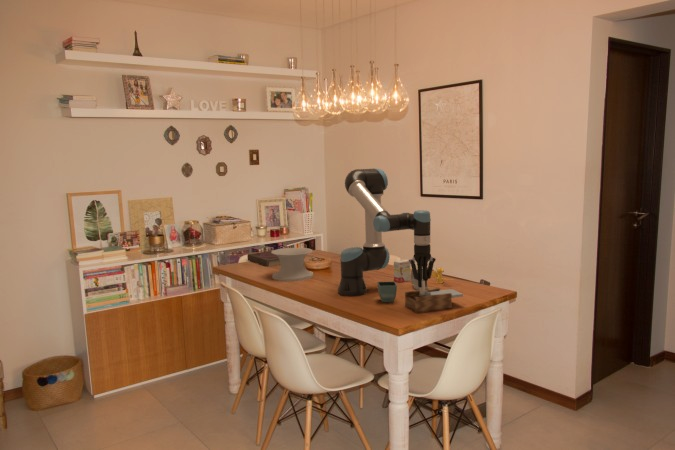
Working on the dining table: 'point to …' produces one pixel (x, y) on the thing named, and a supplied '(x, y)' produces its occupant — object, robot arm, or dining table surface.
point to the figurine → (439, 275)
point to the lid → (453, 292)
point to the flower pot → (387, 291)
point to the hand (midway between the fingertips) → (422, 293)
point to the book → (264, 258)
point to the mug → (416, 281)
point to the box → (427, 301)
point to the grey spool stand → (292, 264)
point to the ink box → (401, 270)
